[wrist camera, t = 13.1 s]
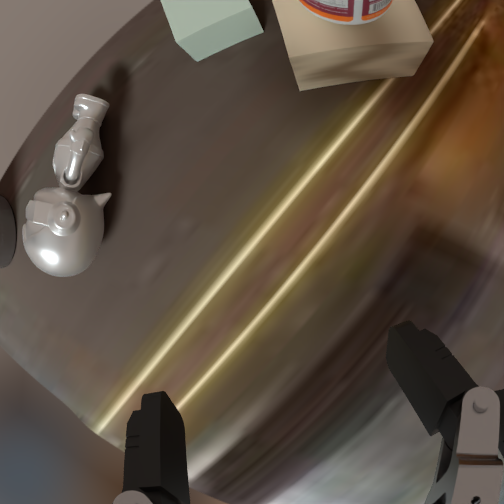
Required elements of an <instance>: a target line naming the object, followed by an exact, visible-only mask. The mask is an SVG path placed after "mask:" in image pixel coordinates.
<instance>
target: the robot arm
mask: <svg viewBox="0 0 504 504" xmlns="http://www.w3.org/2000/svg"><path fill="white" fill-rule="evenodd" d="M15 243H16V229H15V221H14V216H13V213H12V209H11V207H10V205H9V203H8V202H7V200H6V199H5V198H4V197H3V196H0V268H2V267H6V266H7V265H8V264H9V263H10V261H11V260H12V257H13V255H14V250H15ZM386 360H387V364H388V367H389V369H390V371H391V373H392V374H393V376H394V377H395V379H396V380H397V382H398V384H399V385H400V387H401V389H402V390H403V392H404V393H405V395H406V397H407V398H408V400H409V402H410V403H411V405H412V406H413V408H414V410H415V411H416V413H417V415H418V416H419V418H420V420H421V421H422V423H423V425H424V426H425V428H426V430H427V432H428V433H429V435H430V436H432V435H434V434H436V433H438V432H440V433H441V435H442V436H443V438H442V442H441V447H440V452H439V457H438V462H437V467H436V471H435V476H434V480H433V484H432V487H431V489H430V491H429V493H428V496H427V498H426V501H425V504H498V501H499V496H500V489H501V482H502V474H503V462H502V460H501V459H499V458H498V448H499V450H500V452H501V454H502V456H503V458H504V389H502V390H498V391H493V390H491V389H489V388H487V387H479V386H478V385H477V384H476V383H475V382H474V381H473V380H472V378H471V377H470V376H469V374H468V373H467V372H466V371H465V369H464V368H463V367H462V366H461V364H460V363H459V362H458V361H457V359H456V358H455V357H454V356H452V353H451V352H450V351H449V349H448V348H447V347H445V345H444V343H443V342H442V341H441V340H440V339H439V337H438V336H437V335H435V334H433V333H432V332H430V331H428V330H426V329H423V330H421V331H419V330H418V329H417V327H416V326H415V325H414V324H413V323H412V322H411V321H409V320H408V321H405V322H403V323H400V324H398V325H395V326H393V327H390V329H389V333H388V343H387V352H386ZM126 437H127V439H126V444H125V447H126V450H125V460H124V482H123V490H122V493H121V494H120V495H118V496H117V497H116V499H115V500H114V502H113V504H190V496H189V485H188V473H187V459H186V444H185V428H184V423H183V419H182V417H181V414H180V413H179V411H178V410H177V408H176V407H175V405H174V404H173V403H172V401H171V400H170V398H169V397H168V395H167V394H166V392H164V391H160V392H155V393H149V394H144V395H143V396H142V402H141V410H137V411H133V413H132V415H131V417H130V419H129V421H128V423H127V431H126Z"/></svg>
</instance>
